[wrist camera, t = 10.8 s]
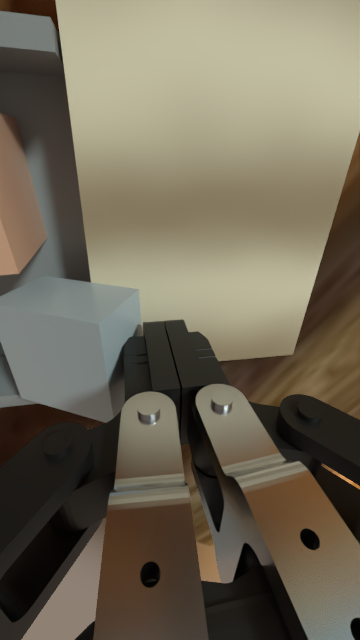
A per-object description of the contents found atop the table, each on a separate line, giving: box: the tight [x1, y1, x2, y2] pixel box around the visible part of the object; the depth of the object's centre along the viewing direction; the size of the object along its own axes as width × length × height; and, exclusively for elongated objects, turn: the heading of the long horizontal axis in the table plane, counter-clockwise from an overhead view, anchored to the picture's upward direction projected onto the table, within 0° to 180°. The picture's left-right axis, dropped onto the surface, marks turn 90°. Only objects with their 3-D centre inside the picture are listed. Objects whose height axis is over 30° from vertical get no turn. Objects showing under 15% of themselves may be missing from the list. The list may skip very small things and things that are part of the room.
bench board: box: [55, 0, 360, 361], centre depth 11 cm, size 14×9×3 cm, turn 178°
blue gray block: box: [0, 276, 142, 423], centre depth 10 cm, size 4×4×2 cm
